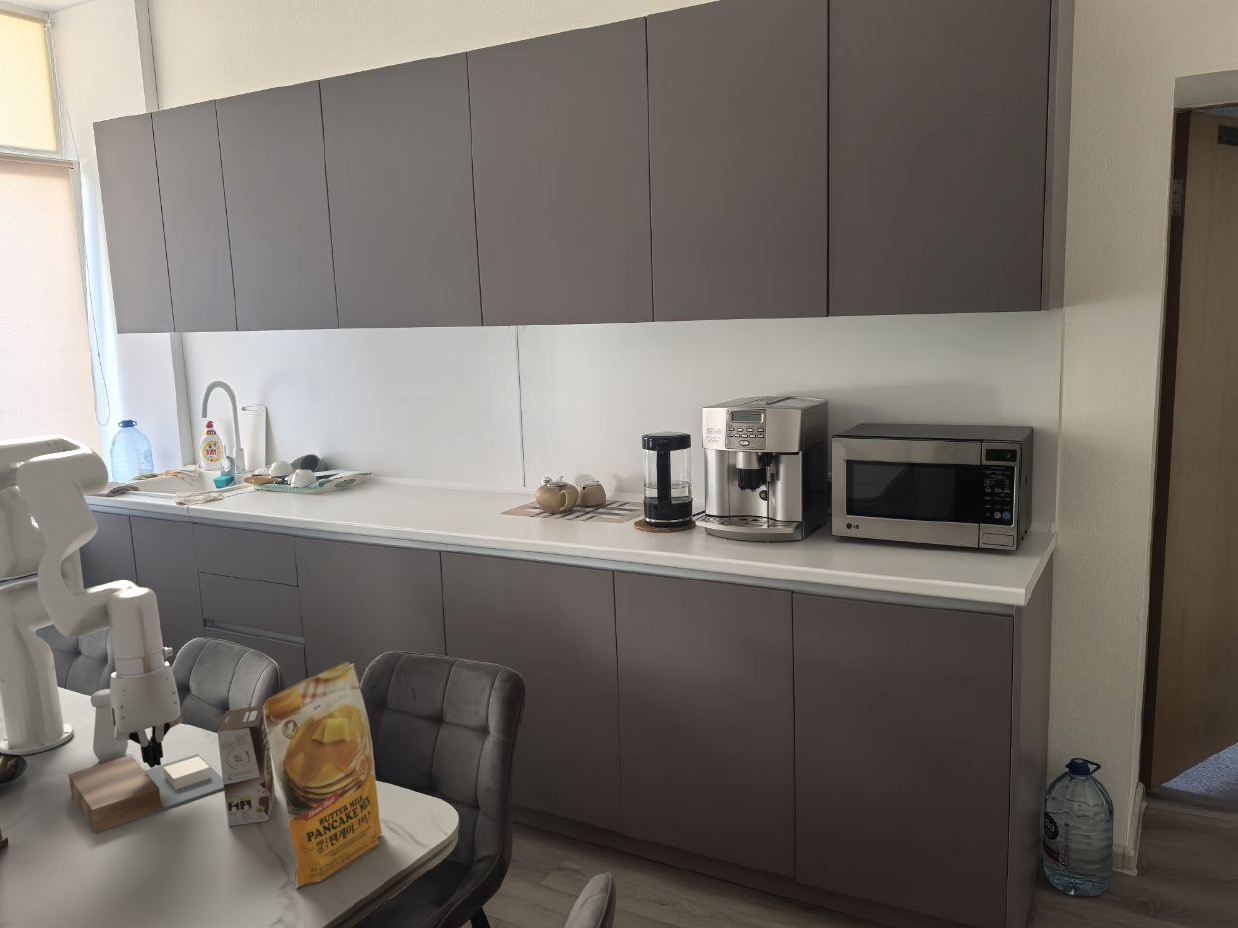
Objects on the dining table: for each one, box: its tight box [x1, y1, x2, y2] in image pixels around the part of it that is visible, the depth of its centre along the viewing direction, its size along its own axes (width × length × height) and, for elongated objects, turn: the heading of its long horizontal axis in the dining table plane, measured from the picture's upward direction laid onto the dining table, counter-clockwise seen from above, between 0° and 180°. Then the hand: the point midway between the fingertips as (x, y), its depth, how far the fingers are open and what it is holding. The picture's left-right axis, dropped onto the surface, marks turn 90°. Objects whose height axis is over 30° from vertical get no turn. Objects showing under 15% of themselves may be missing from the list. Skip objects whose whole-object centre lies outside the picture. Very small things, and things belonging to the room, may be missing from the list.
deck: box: [68, 754, 163, 834], centre depth 168 cm, size 17×10×4 cm, turn 40°
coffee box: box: [217, 705, 276, 827], centre depth 162 cm, size 9×6×16 cm
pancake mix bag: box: [262, 660, 383, 889], centre depth 145 cm, size 7×19×28 cm, turn 147°
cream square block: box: [163, 755, 211, 790], centre depth 175 cm, size 6×6×2 cm
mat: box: [144, 753, 224, 811], centre depth 174 cm, size 17×11×1 cm, turn 40°
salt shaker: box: [90, 688, 129, 764], centre depth 184 cm, size 6×6×13 cm
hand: (153, 763), depth 171 cm, fingers closed
